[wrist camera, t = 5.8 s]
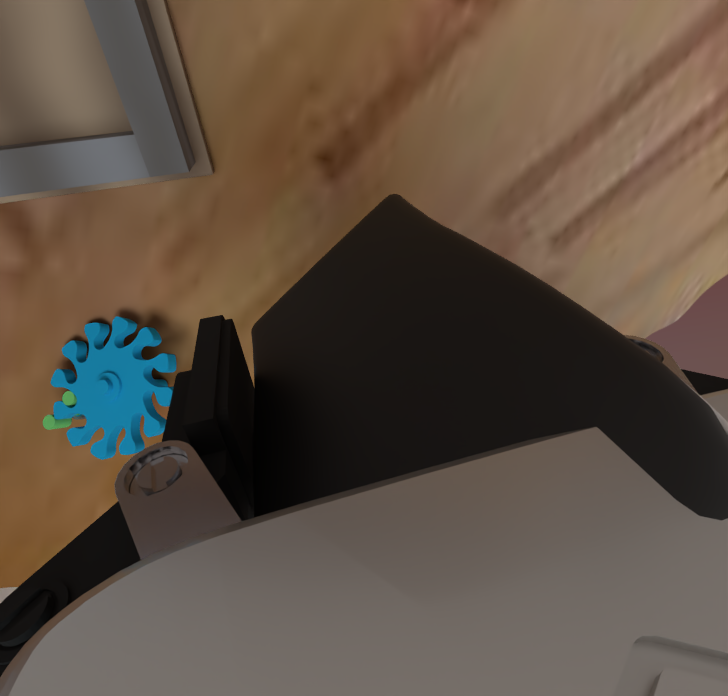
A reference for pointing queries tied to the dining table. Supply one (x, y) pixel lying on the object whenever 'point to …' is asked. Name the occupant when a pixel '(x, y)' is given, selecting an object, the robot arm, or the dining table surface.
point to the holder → (93, 98)
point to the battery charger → (454, 371)
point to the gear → (112, 388)
